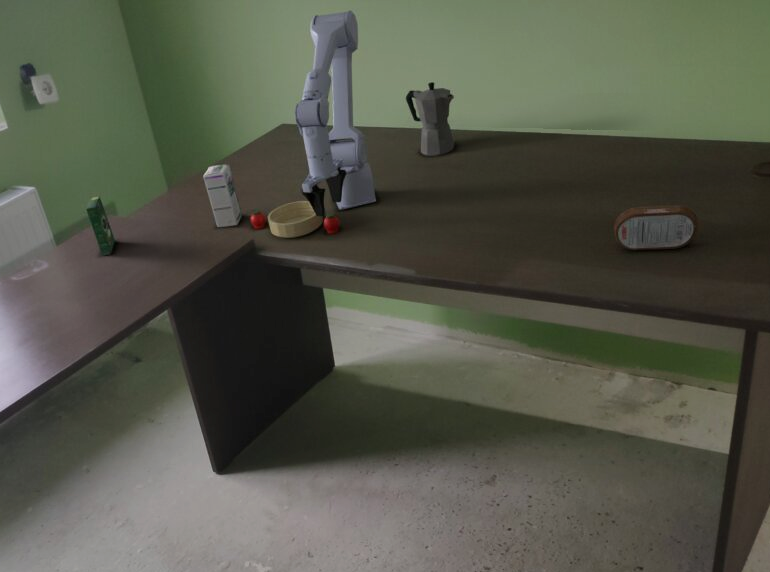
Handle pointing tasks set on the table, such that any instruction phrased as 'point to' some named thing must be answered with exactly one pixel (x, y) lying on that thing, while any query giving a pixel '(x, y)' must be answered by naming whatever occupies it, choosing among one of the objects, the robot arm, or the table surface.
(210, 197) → the white carton
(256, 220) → the strawberry
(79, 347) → the table surface
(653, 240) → the tin
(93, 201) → the coffee box
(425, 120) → the coffeepot
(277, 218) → the bowl
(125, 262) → the table surface
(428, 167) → the table surface
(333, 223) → the strawberry
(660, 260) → the table surface
